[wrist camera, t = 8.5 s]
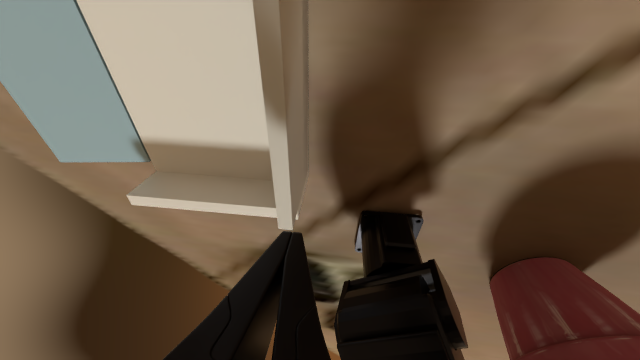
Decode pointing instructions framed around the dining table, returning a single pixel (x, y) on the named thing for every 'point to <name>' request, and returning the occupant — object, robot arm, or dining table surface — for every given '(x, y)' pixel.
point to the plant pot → (561, 314)
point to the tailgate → (65, 83)
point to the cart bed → (213, 99)
